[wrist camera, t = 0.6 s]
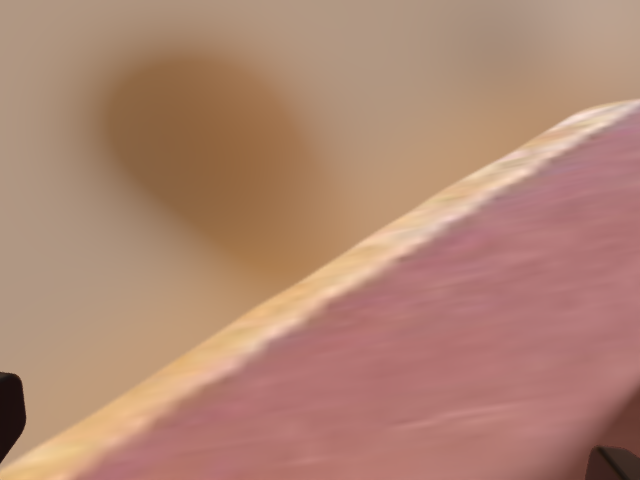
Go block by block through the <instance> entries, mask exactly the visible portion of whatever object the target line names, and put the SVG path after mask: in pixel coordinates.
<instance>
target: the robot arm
mask: <svg viewBox="0 0 640 480" xmlns="http://www.w3.org/2000/svg"><path fill="white" fill-rule="evenodd" d="M25 423H26V411H25V403H24V394H23V386H22V381H21V379H20V377H19V376H17V375H16V374H12V373H4V372H0V463H1V462H2V460H3V459H4V458H5V456H6V455H7V454H8V452H9V450H10V449H11V448H12V446H13V445H14V444H15V442H16V441H17V439H18V438H19V437H20V435H21V434H22V432H23V430H24V427H25ZM585 480H640V458H639V457H637V456H636V455H634V454H633V453H631V452H630V451H628V450H626V449H624V448H618V447H610V446H601V445H597V446H595V447H594V448H593V449H592V451H591V453H590V456H589V461H588V466H587V471H586V476H585Z"/></svg>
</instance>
